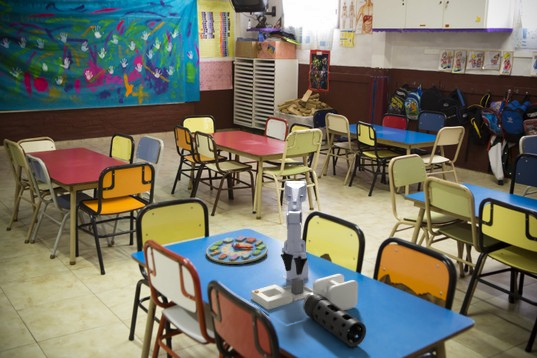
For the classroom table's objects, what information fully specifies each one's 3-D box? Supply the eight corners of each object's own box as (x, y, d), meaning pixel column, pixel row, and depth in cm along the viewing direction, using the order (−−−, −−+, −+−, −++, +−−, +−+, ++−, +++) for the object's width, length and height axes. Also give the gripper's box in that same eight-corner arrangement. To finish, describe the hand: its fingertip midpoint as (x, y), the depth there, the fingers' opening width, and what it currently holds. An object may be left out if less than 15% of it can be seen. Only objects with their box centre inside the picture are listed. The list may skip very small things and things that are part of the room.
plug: (298, 290, 245) (299, 277, 243) (303, 292, 242) (303, 279, 241) (291, 292, 243) (291, 279, 241) (295, 295, 240) (295, 281, 239)
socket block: (275, 293, 244) (275, 282, 242) (292, 303, 234) (292, 292, 233) (251, 300, 237) (251, 289, 236) (267, 311, 227) (267, 300, 226)
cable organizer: (328, 316, 223) (328, 288, 220) (311, 306, 231) (311, 279, 228) (357, 307, 231) (358, 280, 228) (340, 297, 239) (341, 271, 236)
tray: (299, 286, 250) (299, 282, 250) (316, 295, 241) (316, 291, 241) (278, 292, 244) (278, 288, 244) (294, 302, 235) (294, 298, 235)
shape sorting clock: (193, 257, 285) (193, 245, 284) (232, 240, 310) (231, 229, 308) (243, 270, 268) (243, 258, 267) (279, 251, 293) (279, 240, 291)
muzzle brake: (344, 352, 197) (344, 324, 195) (300, 319, 221) (301, 294, 218) (366, 345, 201) (367, 318, 199) (321, 313, 225) (322, 289, 223)
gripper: (276, 238, 242) (275, 270, 243) (296, 243, 230) (296, 277, 231) (289, 236, 246) (289, 268, 247) (310, 242, 234) (310, 275, 235)
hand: (293, 272), depth 240 cm, fingers open, 7 cm apart
